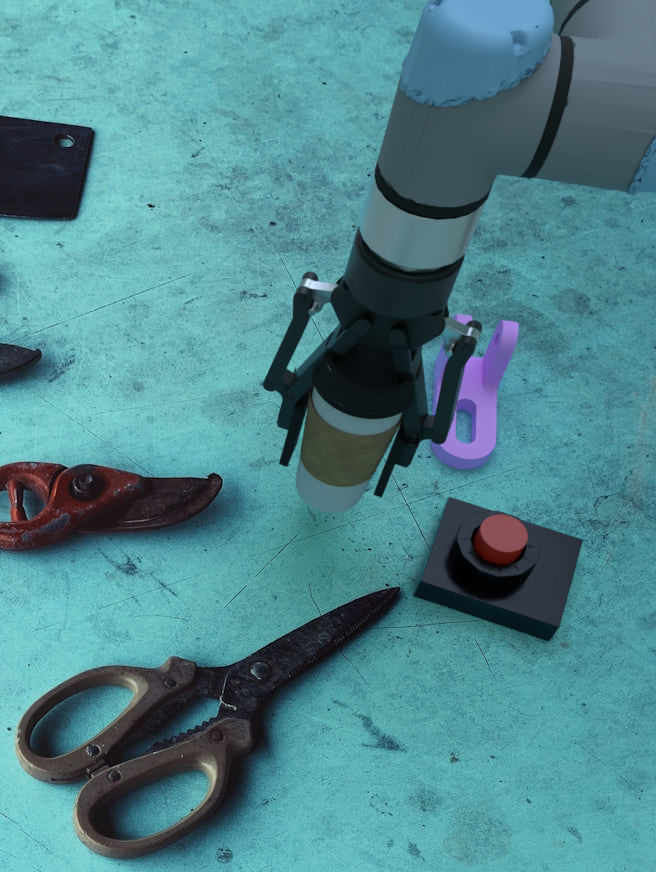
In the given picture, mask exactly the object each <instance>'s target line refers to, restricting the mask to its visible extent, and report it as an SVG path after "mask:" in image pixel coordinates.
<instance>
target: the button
mask: <svg viewBox="0 0 656 872" xmlns="http://www.w3.org/2000/svg"><path fill="white" fill-rule="evenodd" d="M527 541H528V533H527V530H526V528H525V526H524V525H523V524H522V523H521V522H520V521H519V520H517V519H515V518H513V517H511V516H508V515H502V514H497V515H492V516H490V517H488V518H486V519H485V520H484V521H483V522H482V524H481V526H480V528H479V530H478V532H477V534H476V535H475V538H474V548H475V550H476V552H477V554H478V555H480V556H481V557H482V558H483V559H484V560H485V561H488V562H491V563H494V564H497V565H506V564H510V563H512V562H514V561H515V560H516V559H517V558H518V557H519V555H520V554H521V552H522V550H523V549H524V547H525V545H526V543H527Z"/></svg>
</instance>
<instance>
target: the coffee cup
mask: <svg viewBox="0 0 656 872" xmlns="http://www.w3.org/2000/svg"><path fill="white" fill-rule="evenodd" d="M332 331H334V329H333V330H332ZM332 331H331V332H332ZM331 332H330V333H329V335H330V336H329V335H328V336H329V338H328V340H327V342H326V344H325V347H326V346H327V344H328V341H329V339H330V337H331V335H332V333H333V332H332V333H331ZM421 365H422V361H421V364H420V367H419V370H418V373H417V375H416V378H415V380H416V381H417V379H418V377H419V375H420V370H421ZM312 380H313V384H314V385H313V386H312V387H311V390H310V395H309V401H308V407H307V411H306V414H305V419H304V427H303V433H302V437H301V439H302V440H301V445H300V453H299V454H300V455H299V459H298V465H297V470H296V475H295V489H296V492H297V494H298V496H299V498H300V499H301V501H303V502H304V503H305V504H306V505H307V506H309V507H311V508H312V509H315V510H317V511H319V512H323V513H329V514H337V513H343V512H346V511H349V510H351V509H353V508H354V507H355V506H357V504H359V502H360V501H361V500H362V498H363V495H364V494H365V491H366V489H367V488H368V486H369V484H370V481H371V480H372V477H373V476H374V474H375V473H376V471H377V469H378V467H379V465H380V463H381V462H382V460H383V458H384V457H385V454H386V452H387V451H388V448H389V447H390V445H391V443H392V441H393V440H394V438H395V437H396V434H397V432H398V429H399V427H400V424H401V423H402V421H403V413H402V412H404V411H405V410H406V409H408V408H409V407H410V406H411V405H412V400H413V396H412V389H413V383H414V381H411V380H408V379H406V380H405V381H404V382H402V383H401V384H399V383H398V376H397V374H395V372H394V365H393V360H392V359H389V358H386V357H383V356H381V355H379V354H377V353H376V352H374V351H363V350H360V349H356V348H353V347H352V348H351V349H350V350H349V351H348V352H347V353H346V354H345V355H344V356H343V357H342V358H341V357H340V358H339V359H338V360H337V361H336V362H335V363H334V362H333V358H332V355H329V354H326V353H325V355H324V357H323V359H322V361H321V363H320V365H319V366H317V367H315V368H314V371H313V372H312Z"/></svg>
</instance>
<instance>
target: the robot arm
mask: <svg viewBox="0 0 656 872" xmlns="http://www.w3.org/2000/svg"><path fill="white" fill-rule="evenodd" d="M498 176H506V177H514V178H515V177H516V178H522V179H527V180H531V179H537V180H544V181H549V182H550V181H551V182H557V183H563V184H571V185H577V186H583V187H590V188H598V189H604V190H611V191H617V192H624V193H626V194H627V195H632V196H633V195H635V194H637V193H650V194H651V193H652V194H656V0H427V2H426V3H425V5H424V7H423V9H422V12H421V15H420V18H419V21H418V24H417V27H416V29H415V31H414V35H413V37H412V41H411V44H410V46H409V49H408V52H407V55H406V57H405V58H404V60H403V61H402V64H401V72H400V76H399V80H398V83H397V86H396V91H395V94H394V98H393V101H392V105H391V108H390V113H389V116H388V119H387V124H386V128H385V132H384V134H383V139H382V143H381V146H380V150H379V154H378V157H377V161H376V164H375V165H374V169H373V172H372V175H371V178H370V182H369V185H368V190H367V193H366V196H365V200H364V203H363V207H362V211H361V215H360V219H359V221H358V223H359V226H357V229H356V232H355V235H354V240H353V243H352V246H351V248H350V249H351V250H350V253H349V257H348V260H347V262H346V263H347V264H346V267H345V271H344V273H343V275H341V276H340V277H339V278H338V279H337V281H336V282H328V281H321V280H319V279H320V278H319V276H318V274H317V273H315V272H314V271H306V272H304V273H303V275H302V277H301V279H300V281H299V283H298V285H297V287H296V290H295V292H294V295H293V297H292V318H291V320H290V323H289V326H288V327H287V329H286V332H285V334H284V336H283V338H282V340H281V343H280V344H279V347H278V349H277V351H276V353H275V356H274V357H273V359H272V362H271V364H270V367H269V369H268V371H267V373H266V376H265V377H264V379H263V382H262V387H263V389H264V390H265V391H267V392H276V393H278V394H279V395H280V396H281V403H280V407H279V411H278V416H277V420H276V424H277V427H278V428H280V429H283V430H286V431H287V433H286V436H285V440H284V444H283V447H282V451H281V454H280V458H279V463H278V465H280V466H283V467H285V468H287V467H288V466H289V464H290V462H291V459H292V456H293V454H294V452H295V449H296V447H297V445H298V442H299V438H300V434H301V431H302V427H303V424H304V422H305V418H306V413H307V407H308V401H309V395H310V390H311V387H312V386H313V385H314V384H313V380H312V372H313V371H314V368H315V367H317V366H319V365H320V363H321V361H322V359H323V357H324V355H325V353H326V354H329V355H332V358H333V362H334V363H335V362H336V361H337V360H338V359H339V358H340V357H341V358H342V357H343V356H344V355H345V354H346V353H347V352H348V351H349V350H350V349H351V348H352V347H353V348H356V349H360V350H363V351H374V352H376V353H377V354H379V355H381V356H383V357H386V358H389V359H392V360H393V365H394V372H395V374H397V376H398V383H399V384H401V383H402V382H404V381H405V380H406V379H408V380H411V381H414V383H413V389H412V396H413V400H412V405H411V406H410V407H409V408H408V409H406V410H405V411H404V412H402V413H403V421H402V423H401V424H400V426H399V428H398V430H397V432H396V434H395V436H394V439H393V443H392V445H391V448H390V450H389V453H388V455H387V458H386V460H385V463H384V466H383V468H382V470H381V473H380V475H379V478H378V481H377V484H376V486H375V489H374V491H373V496H374V497H378V498H380V499H381V498H383V496H384V493H385V491H386V488H387V486H388V483H389V481H390V478H391V476H392V474H393V471H394V468H395V466H399V467H402V468H404V469H407V468H408V467H409V466H410V465H411V464H412V462H413V460H414V457H415V455H416V452H417V450H418V448H419V446H420V445H421V444H420V443H421V442H423V441H425V440H430V442H431V441H432V442H433V443H435V444H443V443H444V442H445V441H446V439H447V436H448V433H449V430H450V428H451V425H452V422H453V419H454V415H455V410H456V406H457V401H458V397H459V392H460V388H461V383H462V379H463V374H464V370H465V365H466V363H467V361H468V360H469V359H470V357H471V356H472V357H473V355H474V354H475V351H476V348H477V345H478V343H479V340H480V337H481V334H482V331H483V324H482V323H481V322H480V321H479V320H474V319H472V321H469V322H468V323H467V324H466V325H464V324H462V323H460V322H458V321H456V320H454V319H452V318H453V317H450V311H449V306H448V305H449V304H448V301H449V299H450V296H451V294H452V292H453V289H454V287H455V284H456V281H457V279H458V276H459V273H460V271H461V269H462V266H463V263H464V261H465V258H466V252H467V251H468V250H469V248H470V245H471V242H472V240H473V237H474V234H475V232H476V230H477V227H478V224H479V222H480V219H481V217H482V215H483V212H484V209H485V208H486V205H487V202H488V199H489V197H490V194H491V192H492V188H493V185H494V184H495V181H496V179H497V178H498ZM326 304H330V305H331V306H332V309H333V312H334V313H335V316H336V318H337V321H338V325H337V326H335V328H334V329H333V330H334V331H333V330H332V331H331V332H330V334H331V333H332V332H333V333H332V335H331V337H330V339H329V341H328V344H327V346H326V347H325V344H326V342H327V340H328V338H329V336H330V334H328V336H326V338H324V340H323V341H322V342H321V343H320V344H319V345H318V346H317V347H316V349H314V351H313V352H312V353H311V354H310V355H309V356H308V357H307V358H306V359H305V360H304V361H303V362H302V363H301V364H300V365H299V366H298V368H297V367H294V369H293V372H292V371H291V370H290V369H288V366H289V364H290V362H291V360H292V359H293V356H294V353H295V352H296V350H297V347H298V346H299V344H300V342H301V339H302V338H303V335H304V333H305V331H306V329H307V326H308V325H309V322H310V320H311V317H313V316H315V315H316V314H318V313H320V312H322V310H323V307H324V305H326ZM439 337H441V338H442V339H443V340H444V345H443V349H444V351H445V355H446V356H447V357H449V358H448V361H447V363H446V366H445V369H444V373H443V378H442V383H441V388H440V393H439V398H438V403H437V408H436V413H435V415H432V414H430V412H429V404H428V397H427V387H426V377H425V369H424V361H423V360H424V359H423V352H422V351H423V346H424V345H426V344H428V343H430V342H432V341H433V340H435V339H437V338H439ZM421 361H422V365H421V370H420V375H419V377H418V379H417V381H416V380H415V378H416V375H417V373H418V370H419V367H420V364H421ZM456 411H457V410H456Z"/></svg>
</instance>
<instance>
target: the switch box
mask: <svg viewBox="0 0 656 872" xmlns="http://www.w3.org/2000/svg"><path fill="white" fill-rule="evenodd" d="M497 514H502V515H508V516H511V517H513V518H515V519H517V520H519V521H520V522H521V523H522V524H523V525H524V526H525V528H526V530H527V533H528V541H527V543H526V545H525V547H524V549H523V550H522V552H521V554H520V555H519V557H518V558H517V559H516V560H515V561H514V562H512V563H510V564H506V565H497V564H494V563H491V562H488V561H485V560H484V559H483V558H482V557H481V556H480V555H478V554H477V552H476V550H475V548H474V538H475V535H476V534H477V532H478V530H479V528H480V526H481V524H482V522H483V521H484V520H485V519H486V518H488V517H490V516H492V515H497ZM583 543H584V539H582V538H579V537H576V536H573V535H570V534H567V533H564V532H560V531H557V530H556V529H555V530H554V529H551V528H548V527H546V526H542V525H539V524H536V523H533V522H530V521H526V520H523V519H521V518H520V517H518V516H515V515H513V514H511V513H506V512H504V511H500V510H492V509H489V508H486V507H482V506H479V505H477V504H473V503H469V502H467V501H464V500H460V499H458V498H454V497H451V496H449V497H448V498H447V500H446V502H445V504H444V507H443V509H442V511H441V513H440V516H439V519H438V522H437V525H436V527H435V531H434V533H433V536H432V539H431V542H430V546H429V548H428V551H427V553H426V557H425V560H424V563H423V564H422V565H423V566H422V569H421V571H420V575H419V577H418V580H417V584H416V586H415V589H414V591H413V595H412V596H413V597H415V598H417V599H421V600H423V601H426V602H430V603H431V604H435V605H439V606H441V607H445V608H447V609H451V610H454V611H456V612H459V613H462V614H466V615H469V616H472V617H475V618H476V619H477V618H478V619H481V620H483V621H486V622H489V623H492V624H496V625H499V626H502V627H504V628H507V629H510V630H513V631H517V632H519V633H523V634H525V635H529V636H531V637H534V638H537V639H541V640H544V641H546V642H550V641H551V640H552V639H553V637H554V636H555V635H556V633H557V632H558V630H559V628H560V626H561V623H562V619H563V616H564V612H565V608H566V605H567V601H568V597H569V594H570V589H571V587H572V582H573V579H574V575H575V572H576V569H577V564H578V560H579V557H580V552H581V550H582V545H583Z"/></svg>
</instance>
